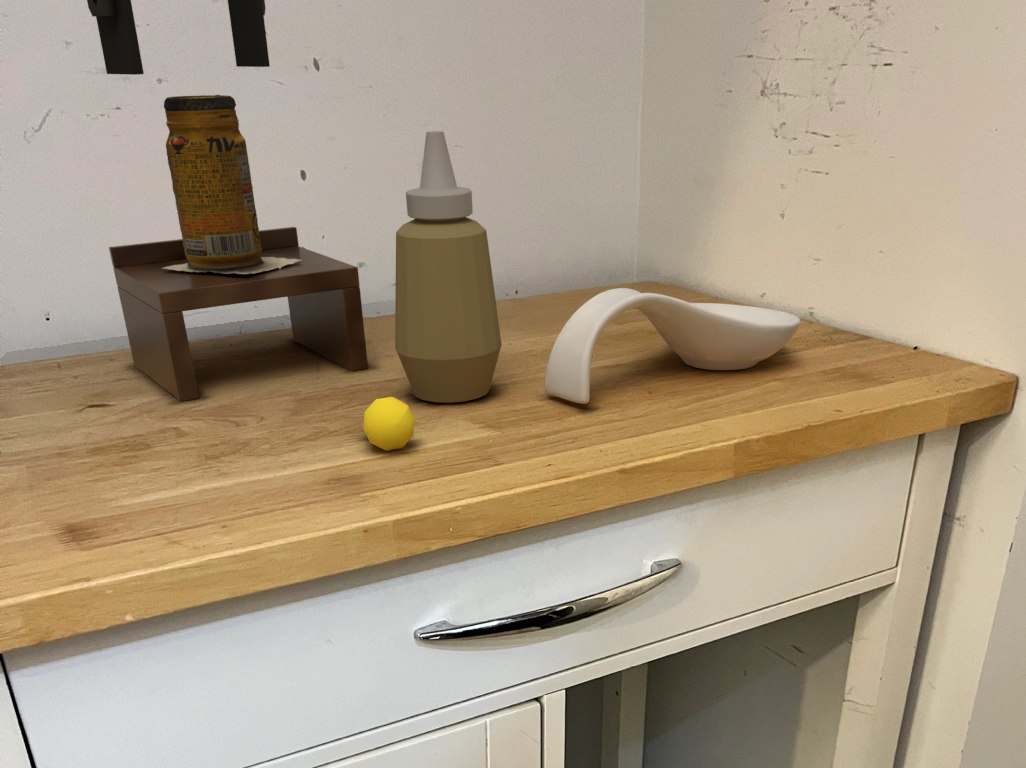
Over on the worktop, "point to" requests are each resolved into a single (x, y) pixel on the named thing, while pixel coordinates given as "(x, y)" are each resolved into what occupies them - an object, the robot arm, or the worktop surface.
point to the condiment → (213, 187)
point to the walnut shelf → (166, 293)
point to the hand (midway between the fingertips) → (193, 70)
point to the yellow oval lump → (388, 423)
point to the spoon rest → (667, 336)
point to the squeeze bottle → (444, 288)
